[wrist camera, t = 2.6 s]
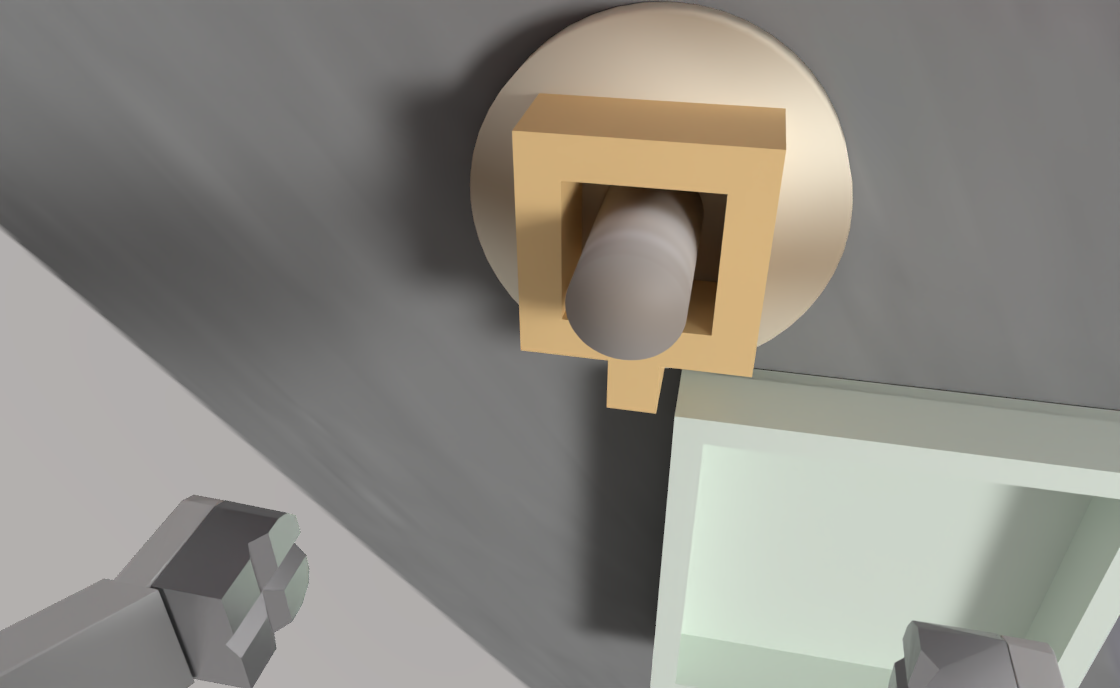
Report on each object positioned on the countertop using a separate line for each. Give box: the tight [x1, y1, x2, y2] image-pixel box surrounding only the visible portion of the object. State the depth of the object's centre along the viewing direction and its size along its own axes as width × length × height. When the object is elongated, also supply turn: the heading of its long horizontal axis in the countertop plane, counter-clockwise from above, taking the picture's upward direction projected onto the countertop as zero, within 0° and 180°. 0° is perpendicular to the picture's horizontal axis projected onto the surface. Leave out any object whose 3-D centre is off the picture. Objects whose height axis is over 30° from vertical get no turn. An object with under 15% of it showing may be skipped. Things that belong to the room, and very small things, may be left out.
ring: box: [512, 93, 786, 414], centre depth 20 cm, size 7×5×2 cm
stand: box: [470, 1, 853, 368], centre depth 19 cm, size 9×9×6 cm
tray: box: [650, 369, 1120, 688], centre depth 25 cm, size 12×12×2 cm
